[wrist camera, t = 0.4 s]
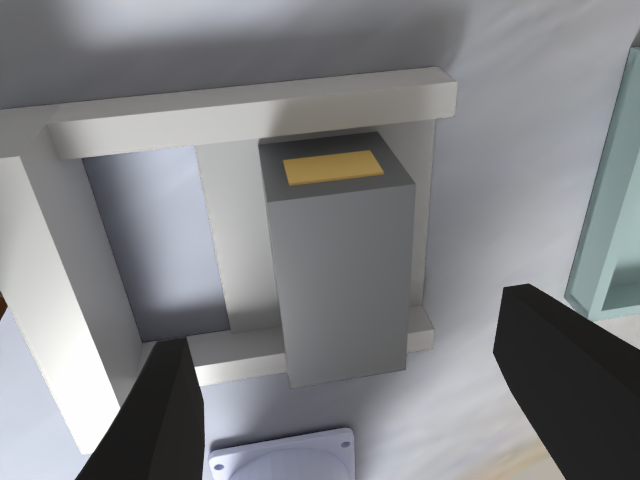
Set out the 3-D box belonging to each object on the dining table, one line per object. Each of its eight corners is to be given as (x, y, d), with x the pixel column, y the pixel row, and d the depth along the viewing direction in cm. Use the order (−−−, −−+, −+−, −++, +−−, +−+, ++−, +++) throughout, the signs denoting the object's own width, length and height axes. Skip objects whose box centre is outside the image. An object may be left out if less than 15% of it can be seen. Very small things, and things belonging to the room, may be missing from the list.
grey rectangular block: (376, 297, 24) (405, 369, 20) (278, 311, 23) (290, 388, 19) (377, 129, 19) (416, 181, 15) (257, 142, 19) (266, 200, 15)
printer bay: (418, 320, 25) (453, 391, 21) (104, 368, 24) (82, 454, 20) (436, 66, 19) (491, 104, 15) (0, 109, 17) (-63, 164, 13)
